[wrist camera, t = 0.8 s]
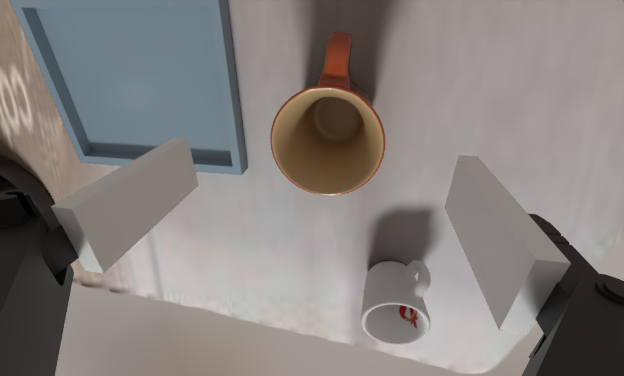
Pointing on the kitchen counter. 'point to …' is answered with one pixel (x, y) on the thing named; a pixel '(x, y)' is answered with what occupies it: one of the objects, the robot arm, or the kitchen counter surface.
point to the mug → (329, 129)
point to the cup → (396, 302)
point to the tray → (140, 77)
